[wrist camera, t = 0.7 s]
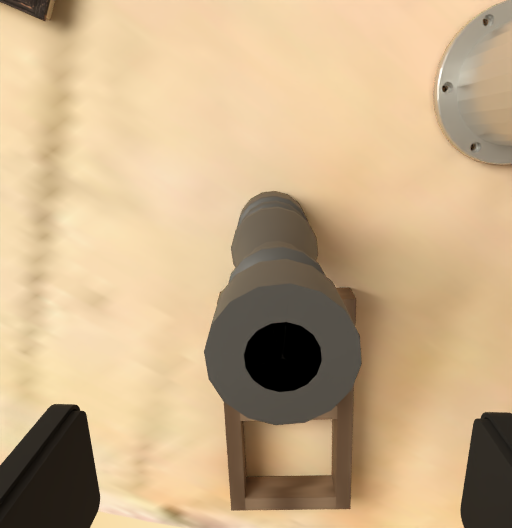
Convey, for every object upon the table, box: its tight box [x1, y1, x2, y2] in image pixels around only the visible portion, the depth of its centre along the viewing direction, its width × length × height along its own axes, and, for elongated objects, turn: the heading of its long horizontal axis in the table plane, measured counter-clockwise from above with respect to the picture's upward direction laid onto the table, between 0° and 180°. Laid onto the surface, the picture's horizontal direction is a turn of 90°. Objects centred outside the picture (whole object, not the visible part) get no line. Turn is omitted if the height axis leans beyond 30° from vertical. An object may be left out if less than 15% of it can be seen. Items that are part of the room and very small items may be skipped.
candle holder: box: [204, 191, 361, 425], centre depth 27 cm, size 6×6×25 cm
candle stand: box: [217, 288, 356, 510], centre depth 41 cm, size 12×23×8 cm, turn 2°
